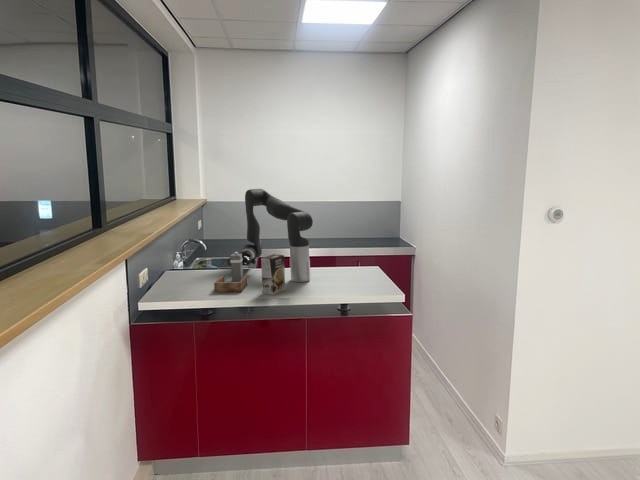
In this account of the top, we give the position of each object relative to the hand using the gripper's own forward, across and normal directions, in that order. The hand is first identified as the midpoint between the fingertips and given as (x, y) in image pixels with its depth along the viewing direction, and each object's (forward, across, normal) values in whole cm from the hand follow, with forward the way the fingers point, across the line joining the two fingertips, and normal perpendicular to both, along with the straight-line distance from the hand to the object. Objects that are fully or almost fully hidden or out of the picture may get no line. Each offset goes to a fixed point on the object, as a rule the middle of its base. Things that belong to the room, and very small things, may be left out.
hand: (238, 263), depth 222 cm
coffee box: (+23, +21, +8) cm, 32 cm away
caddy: (+18, 0, +8) cm, 19 cm away
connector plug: (+4, 0, +8) cm, 8 cm away
